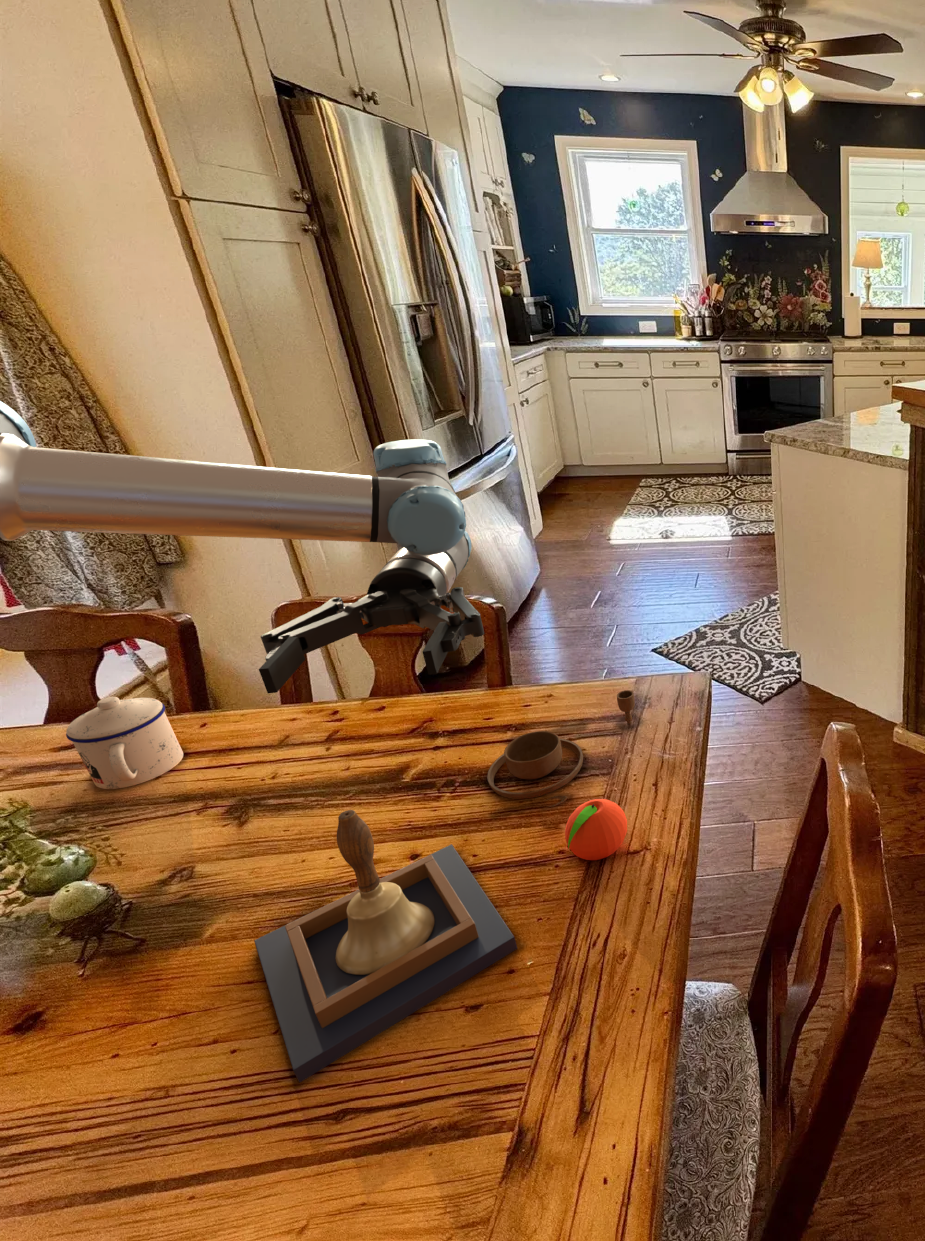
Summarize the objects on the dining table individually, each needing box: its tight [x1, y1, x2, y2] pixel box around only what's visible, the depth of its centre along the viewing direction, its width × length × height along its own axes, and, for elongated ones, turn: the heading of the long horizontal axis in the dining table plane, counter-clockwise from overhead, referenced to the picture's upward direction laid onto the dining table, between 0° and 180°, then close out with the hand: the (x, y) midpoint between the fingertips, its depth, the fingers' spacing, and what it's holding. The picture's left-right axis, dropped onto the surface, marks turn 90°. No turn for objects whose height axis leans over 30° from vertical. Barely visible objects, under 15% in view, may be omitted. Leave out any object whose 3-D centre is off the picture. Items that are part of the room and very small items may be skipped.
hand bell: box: [336, 809, 435, 975], centre depth 68 cm, size 8×8×16 cm
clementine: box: [564, 798, 628, 861], centre depth 84 cm, size 8×7×7 cm
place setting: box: [487, 689, 636, 808], centre depth 98 cm, size 18×20×6 cm
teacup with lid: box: [65, 696, 184, 790], centre depth 92 cm, size 12×9×12 cm
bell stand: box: [254, 843, 518, 1083], centre depth 71 cm, size 18×18×4 cm
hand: (350, 672), depth 69 cm, fingers open, 13 cm apart
